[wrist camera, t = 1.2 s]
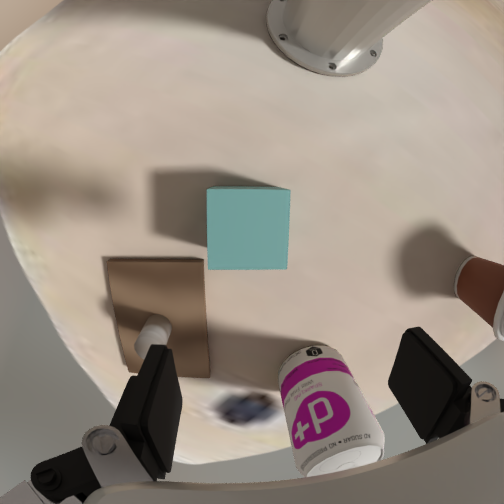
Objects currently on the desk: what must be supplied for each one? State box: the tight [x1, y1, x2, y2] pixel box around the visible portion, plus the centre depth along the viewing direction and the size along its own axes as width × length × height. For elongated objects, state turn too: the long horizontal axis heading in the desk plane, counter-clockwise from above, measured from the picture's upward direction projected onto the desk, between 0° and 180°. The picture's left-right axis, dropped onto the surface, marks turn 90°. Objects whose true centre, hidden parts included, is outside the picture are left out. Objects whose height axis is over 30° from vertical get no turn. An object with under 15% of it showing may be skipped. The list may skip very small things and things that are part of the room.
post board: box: [107, 259, 210, 378], centre depth 26 cm, size 14×10×6 cm
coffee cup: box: [454, 256, 504, 341], centre depth 24 cm, size 9×9×12 cm
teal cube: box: [207, 186, 290, 270], centre depth 23 cm, size 6×6×6 cm
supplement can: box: [278, 346, 385, 477], centre depth 24 cm, size 8×8×15 cm
